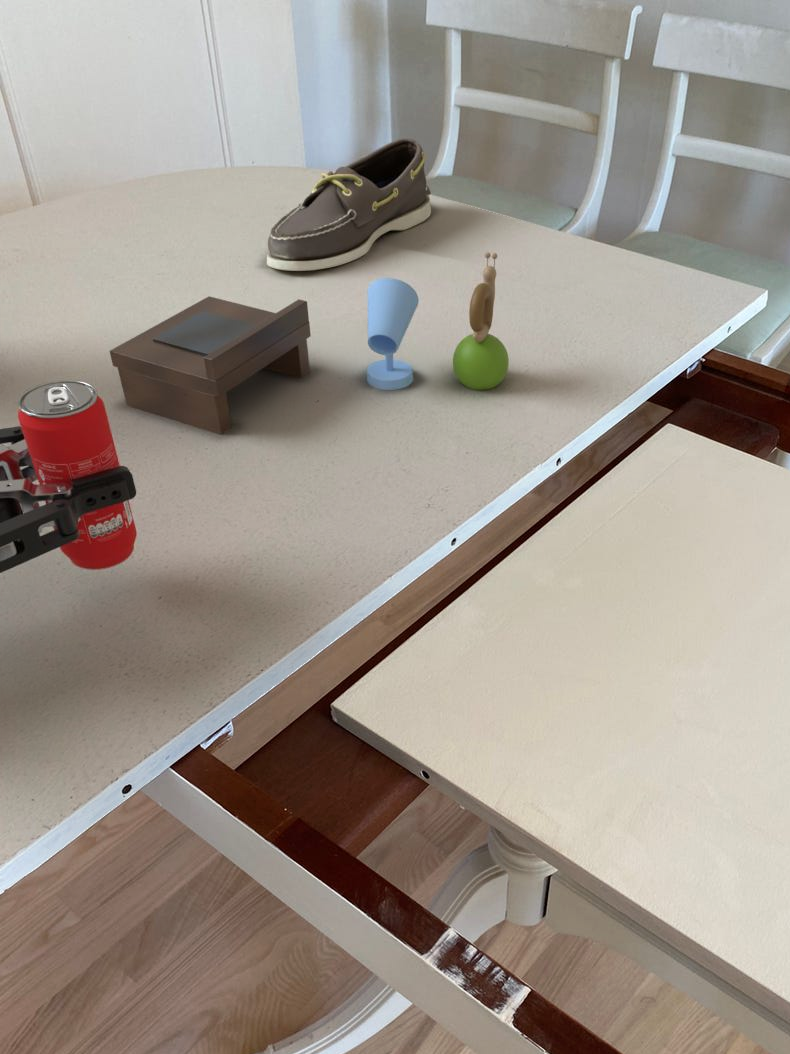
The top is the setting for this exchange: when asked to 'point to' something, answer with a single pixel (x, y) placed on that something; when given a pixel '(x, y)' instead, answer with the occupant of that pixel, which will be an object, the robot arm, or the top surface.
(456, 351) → the snail figurine
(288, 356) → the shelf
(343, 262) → the boat shoe
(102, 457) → the beverage can
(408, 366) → the spotlight
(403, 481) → the top surface
